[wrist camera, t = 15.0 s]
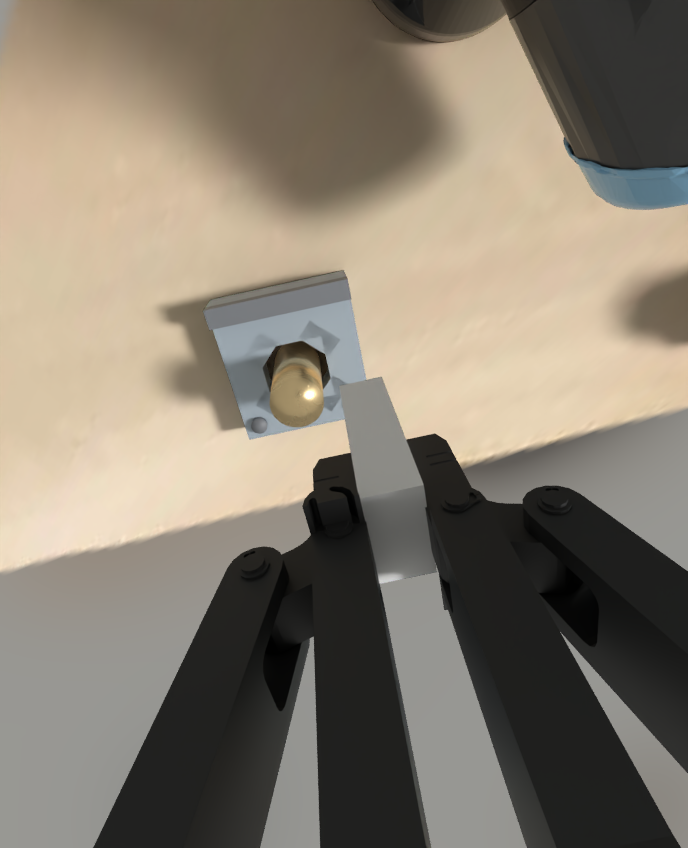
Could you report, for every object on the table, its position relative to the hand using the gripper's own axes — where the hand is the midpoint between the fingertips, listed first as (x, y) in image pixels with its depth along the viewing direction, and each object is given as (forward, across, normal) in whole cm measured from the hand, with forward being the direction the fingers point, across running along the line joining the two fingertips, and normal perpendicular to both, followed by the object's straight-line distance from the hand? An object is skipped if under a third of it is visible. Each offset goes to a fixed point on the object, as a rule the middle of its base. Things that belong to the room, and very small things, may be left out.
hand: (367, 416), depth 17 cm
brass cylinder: (+32, -5, -9) cm, 34 cm away
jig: (+32, -5, -8) cm, 34 cm away
